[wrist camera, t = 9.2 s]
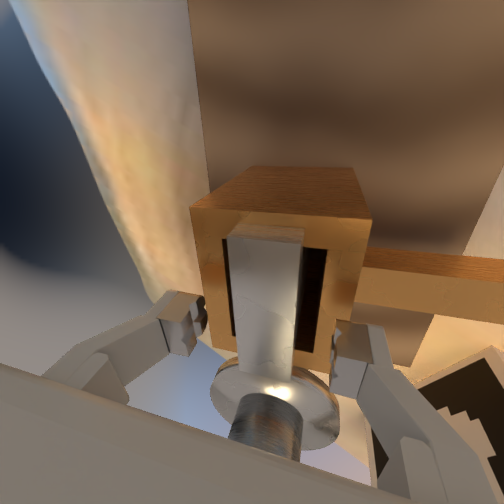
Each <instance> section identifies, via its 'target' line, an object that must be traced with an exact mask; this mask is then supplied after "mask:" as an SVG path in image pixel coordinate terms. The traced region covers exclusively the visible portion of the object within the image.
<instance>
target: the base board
mask: <svg viewBox="0 0 504 504" xmlns="http://www.w3.org/2000/svg"><path fill="white" fill-rule="evenodd" d="M187 2H188V10H189V19H190V27H191V35H192V44H193V52H194V61H195V69H196V77H197V86H198V94H199V102H200V111H201V119H202V127H203V136H204V144H205V152H206V161H207V169H208V177H209V186H210V193H211V192H213V191H214V190H216V189H217V188H219V187H220V186H222V185H223V184H225V183H226V182H228V181H230V180H231V179H233V178H234V177H236V176H237V175H239V174H240V173H242V172H243V171H245V170H246V169H248V168H249V167H251V166H289V167H344V168H353V169H354V171H355V174H356V177H357V179H358V182H359V185H360V187H361V190H362V193H363V195H364V198H365V201H366V203H367V206H368V209H369V211H370V214H371V217H372V219H373V221H372V225H371V229H370V234H369V238H368V243H367V247H378V248H388V249H399V250H409V251H420V252H430V253H440V254H451V255H461V256H462V254H463V252H464V250H465V247H466V245H467V243H468V241H469V239H470V237H471V234H472V232H473V230H474V228H475V226H476V224H477V221H478V219H479V217H480V215H481V213H482V211H483V209H484V206H485V204H486V202H487V200H488V198H489V196H490V193H491V191H492V189H493V187H494V185H495V183H496V180H497V178H498V176H499V174H500V172H501V170H502V167H503V165H504V0H187ZM321 253H322V249H319V248H311V254H310V259H319V260H321ZM433 317H434V314H431V313H424V312H418V311H411V310H405V309H398V308H391V307H385V306H378V305H372V304H365V303H359V302H354V303H353V308H352V312H351V316H350V321H353V322H359V323H365V324H372V325H378V326H382V327H383V328H384V330H385V334H386V338H387V343H388V347H389V351H390V355H391V359H392V363H393V364H396V365H401V366H405V367H410V366H411V364H412V362H413V360H414V358H415V356H416V353H417V351H418V349H419V347H420V345H421V343H422V340H423V338H424V336H425V334H426V332H427V330H428V327H429V325H430V323H431V321H432V319H433Z"/></svg>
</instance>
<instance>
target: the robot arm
mask: <svg viewBox="0 0 504 504" xmlns="http://www.w3.org/2000/svg"><path fill="white" fill-rule="evenodd" d="M205 304H206V303H205V298H204V297H203V296H201V295H196V294H191V293H186V292H180V291H175V290H168V291H167V292H166V293H165V294H164V295H163V296H162V297H161V298H160V299H159V300H158V301H157V302H156V303H155V304H154V305H153V307H152V308H151V309H150V310H149V311H148V312H147V313H146V314H145V315H144V316H142V315H140V316H138V317H136V318H133V319H131V320H129V321H127V322H125V323H122V324H120V325H118V326H116V327H114V328H111V329H109V330H107V331H105V332H103V333H101V334H98V335H96V336H94V337H92V338H89V339H88V340H85V341H83V342H81V343H79V344H76V345H75V346H74V347H73V348H72V349H70V351H68V352H67V353H66V354H65V355H64V356H63V357H62V358H61V359H60V360H58V361H57V362H56V363H55V364H54V365H53V366H52V367H51V368H49V369H48V370H47V371H46V372H45V373H44V374H43V375H42V376H37V375H35V374H32V373H29V372H26V371H22V370H20V369H17V368H14V367H11V366H8V365H4V364H2V363H0V504H498V502H497V500H496V498H495V495H494V493H493V491H492V488H491V486H490V483H489V481H488V479H487V476H486V474H485V472H484V469H483V467H482V465H481V462H480V460H479V457H478V455H477V454H476V453H475V452H474V451H473V450H472V449H471V447H470V446H469V445H468V444H467V443H466V442H465V441H464V440H463V439H462V438H461V437H460V435H459V434H458V433H457V432H456V431H455V430H454V429H453V428H452V427H451V426H450V425H449V424H448V422H447V421H446V420H445V419H444V418H443V417H442V416H441V415H440V414H439V413H438V412H437V411H436V409H435V408H434V407H433V406H432V405H431V404H430V403H429V402H428V401H427V400H426V399H425V397H424V396H423V395H422V394H421V393H420V392H419V391H418V390H417V389H416V388H415V387H414V386H413V384H412V383H411V382H410V381H409V380H408V379H407V378H406V377H405V376H404V375H403V374H402V373H401V371H400V370H396V369H394V367H393V363H392V359H391V355H390V351H389V347H388V343H387V338H386V334H385V330H384V328H383V327H382V326H378V325H372V324H365V323H359V322H353V321H347V320H341V319H335V322H334V334H333V335H332V338H331V345H330V363H331V368H330V373H329V392H331V393H335V394H338V395H342V396H346V397H349V398H353V399H356V401H357V403H358V405H359V407H360V408H361V410H362V412H363V414H364V415H365V417H366V419H367V421H368V422H369V424H370V426H371V428H372V429H373V431H374V433H375V435H376V436H377V438H378V440H379V442H380V443H381V445H382V447H383V449H384V450H385V452H386V454H387V456H388V458H389V460H388V462H387V464H386V466H385V467H384V469H383V471H382V473H381V474H380V476H379V478H378V479H377V488H378V489H377V488H374V487H371V486H368V485H365V484H362V483H359V482H356V481H353V480H350V479H347V478H344V477H341V476H338V475H335V474H332V473H329V472H326V471H323V470H320V469H317V468H314V467H311V466H308V465H305V464H302V463H299V462H296V461H293V460H290V459H287V458H284V457H281V456H278V455H275V454H272V453H269V452H266V451H263V450H260V449H257V448H254V447H251V446H248V445H245V444H242V443H239V442H236V441H233V440H230V439H227V438H224V437H221V436H218V435H215V434H212V433H209V432H206V431H203V430H200V429H197V428H194V427H191V426H188V425H185V424H182V423H179V422H176V421H173V420H170V419H167V418H164V417H161V416H158V415H155V414H152V413H149V412H146V411H143V410H140V409H137V408H134V407H131V406H128V405H127V403H128V402H129V395H128V393H127V391H126V389H125V387H124V386H126V385H127V384H129V383H130V382H131V381H133V380H134V379H135V378H137V377H138V376H139V375H141V374H142V373H144V372H145V371H146V370H148V369H149V368H151V367H152V366H153V365H155V364H156V363H157V362H159V361H160V360H162V359H163V358H164V357H166V356H167V355H169V353H173V354H178V355H182V356H187V357H189V356H190V354H191V352H192V351H193V349H194V347H195V346H196V344H197V340H196V338H197V337H198V336H200V335H202V334H203V332H204V330H205V328H206V325H207V321H208V314H207V311H206V310H205V309H204V305H205Z"/></svg>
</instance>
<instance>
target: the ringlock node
mask: <svg viewBox="0 0 504 504" xmlns="http://www.w3.org/2000/svg"><path fill="white" fill-rule="evenodd" d="M189 209H190V215H191V221H192V227H193V232H194V238H195V244H196V250H197V256H198V262H199V268H200V274H201V280H202V286H203V292H204V298H205V303H206V309H207V314H208V321H209V327H210V333H211V339H212V345H213V347H215V348H219V349H223V350H228V351H232V352H236V353H238V352H237V341H236V331H235V320H234V310H233V299H232V289H231V278H230V268H229V257H228V247H227V235H228V234H229V233H230V232H231V231H232V230H233V229H234V227H235V226H236V225H237V224H238V223H248V224H260V225H272V226H283V227H295V228H305V233H304V245H303V247H309V248H319V249H322V253H321V260H319V259H310V260H309V266H308V272H307V277H306V283H305V289H304V295H303V300H302V306H301V312H300V318H299V323H298V329H297V335H296V343H295V355H294V364H293V370H292V376H291V382H290V383H286V382H282V381H278V380H274V379H271V378H267V377H263V376H259V375H255V374H251V373H247V372H244V371H240V370H239V362H238V357H234V358H231V359H229V360H227V361H226V362H224V363H223V364H222V365H221V366H220V368H219V369H218V371H217V373H216V376H215V378H214V380H213V382H212V385H211V388H210V397H211V400H212V402H213V404H214V406H215V408H216V409H217V411H218V412H219V413H220V415H222V417H223V418H225V420H227V421H228V422H229V423H230V424H231V425H232V426H231V430H230V433H229V436H228V439H230V440H233V441H236V442H239V443H242V444H245V445H248V446H251V447H254V448H257V449H260V450H263V451H266V452H269V453H272V454H275V455H278V456H281V457H284V458H287V459H290V460H293V461H296V462H299V463H300V454H301V450H316V449H321V448H324V447H326V446H328V445H330V444H331V443H333V442H334V441H335V440H336V439H337V437H338V435H339V431H340V416H339V404H338V401H337V399H336V397H335V395H334V393H331V392H329V387H328V386H327V385H326V384H325V383H324V382H323V381H322V380H321V379H319V378H318V377H317V376H315V375H314V374H313V373H311V372H310V371H308V369H310V370H314V371H319V372H323V373H327V374H329V373H330V368H331V363H330V345H331V338H332V335H333V334H334V322H335V319H341V320H347V321H350V316H351V312H352V308H353V303H354V302H359V303H365V304H372V305H378V306H385V307H391V308H398V309H405V310H411V311H418V312H424V313H431V314H437V315H444V316H450V317H457V318H463V319H470V320H477V321H483V322H490V323H496V324H503V325H504V260H503V259H493V258H482V257H472V256H461V255H451V254H440V253H430V252H420V251H409V250H399V249H388V248H378V247H367V243H368V238H369V234H370V229H371V225H372V221H373V219H372V217H371V214H370V211H369V209H368V206H367V203H366V201H365V198H364V195H363V193H362V190H361V187H360V185H359V182H358V179H357V177H356V174H355V171H354V169H353V168H344V167H289V166H251V167H249V168H248V169H246V170H245V171H243V172H242V173H240V174H239V175H237V176H236V177H234V178H233V179H231V180H230V181H228V182H226V183H225V184H223V185H222V186H220V187H219V188H217V189H216V190H214V191H213V192H211V193H210V194H208V195H207V196H205V197H204V198H202V199H201V200H199V201H198V202H196V203H195V204H193V205H192V206H190V207H189Z"/></svg>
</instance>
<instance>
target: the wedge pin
mask: <svg viewBox="0 0 504 504" xmlns="http://www.w3.org/2000/svg"><path fill="white" fill-rule="evenodd" d="M304 233H305V228H295V227H283V226H272V225H260V224H248V223H238V224H237V225H236V226H235V227H234V229H233V230H232V231H231V232H230V233H229V234H228V235H227V247H228V257H229V268H230V278H231V289H232V299H233V310H234V320H235V331H236V341H237V352H238V362H239V370H240V371H244V372H247V373H251V374H255V375H259V376H263V377H267V378H271V379H274V380H278V381H282V382H286V383H290V382H291V376H292V370H293V364H294V355H295V343H296V335H297V329H298V323H299V318H300V312H301V306H302V300H303V295H304V289H305V283H306V277H307V272H308V266H309V260H310V254H311V248H309V247H303V245H304Z"/></svg>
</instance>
